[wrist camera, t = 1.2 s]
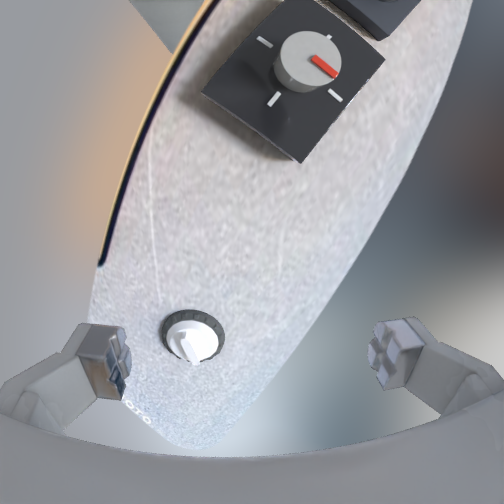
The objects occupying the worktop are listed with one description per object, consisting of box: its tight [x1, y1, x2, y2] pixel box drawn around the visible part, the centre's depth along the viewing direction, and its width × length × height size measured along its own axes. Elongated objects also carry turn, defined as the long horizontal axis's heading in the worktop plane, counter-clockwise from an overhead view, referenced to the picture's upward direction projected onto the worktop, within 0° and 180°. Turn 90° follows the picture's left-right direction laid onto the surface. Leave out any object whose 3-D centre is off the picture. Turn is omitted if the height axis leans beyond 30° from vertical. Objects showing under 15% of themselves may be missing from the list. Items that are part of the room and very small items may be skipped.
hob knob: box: [274, 31, 341, 93], centre depth 18 cm, size 4×4×4 cm
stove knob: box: [162, 310, 225, 366], centre depth 31 cm, size 7×7×3 cm
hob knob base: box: [201, 0, 385, 164], centre depth 21 cm, size 10×13×3 cm
